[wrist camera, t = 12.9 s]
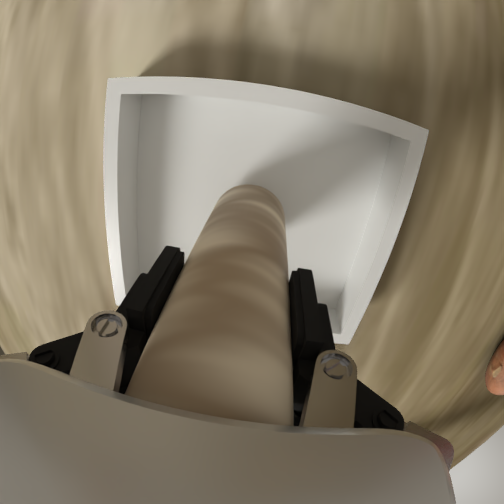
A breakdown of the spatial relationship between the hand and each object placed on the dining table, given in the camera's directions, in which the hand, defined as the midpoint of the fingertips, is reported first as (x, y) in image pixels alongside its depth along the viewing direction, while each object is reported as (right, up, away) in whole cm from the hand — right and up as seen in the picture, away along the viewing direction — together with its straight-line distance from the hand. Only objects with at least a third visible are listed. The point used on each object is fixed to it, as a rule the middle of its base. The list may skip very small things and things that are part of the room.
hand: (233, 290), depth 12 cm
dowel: (+1, +4, +6) cm, 7 cm away
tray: (+1, +5, +8) cm, 9 cm away
